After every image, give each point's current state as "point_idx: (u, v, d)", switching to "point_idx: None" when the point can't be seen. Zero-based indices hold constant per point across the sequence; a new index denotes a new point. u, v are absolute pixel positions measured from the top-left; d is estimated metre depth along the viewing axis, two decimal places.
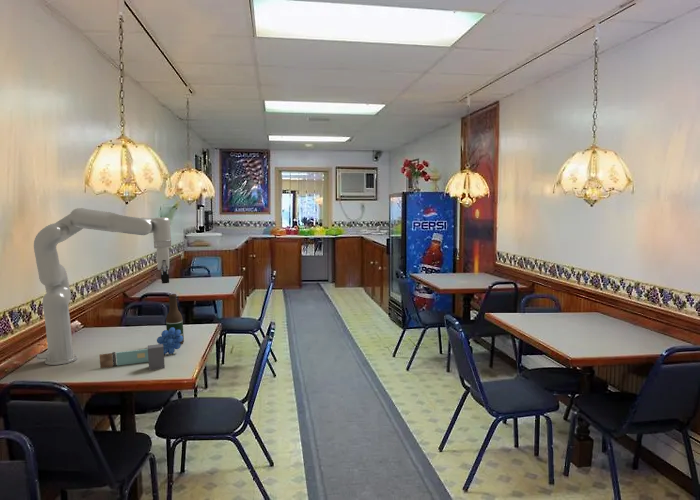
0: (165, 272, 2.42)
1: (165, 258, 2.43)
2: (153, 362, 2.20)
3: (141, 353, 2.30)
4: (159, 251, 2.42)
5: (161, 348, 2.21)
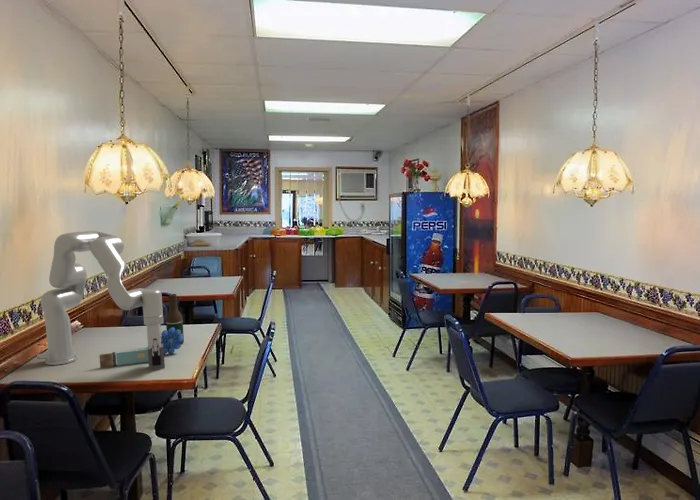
0: (156, 354, 2.18)
1: (156, 336, 2.18)
2: None
3: (141, 353, 2.30)
4: (149, 329, 2.17)
5: (161, 348, 2.21)
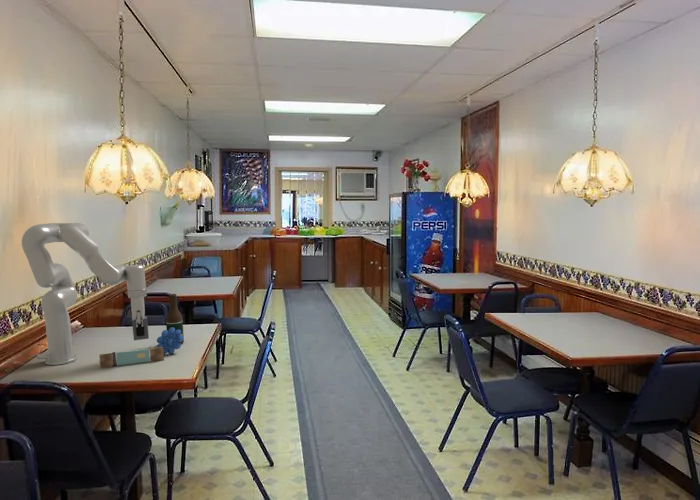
0: (140, 325, 2.32)
1: (139, 308, 2.31)
2: None
3: (141, 353, 2.30)
4: (133, 301, 2.31)
5: (145, 319, 2.35)
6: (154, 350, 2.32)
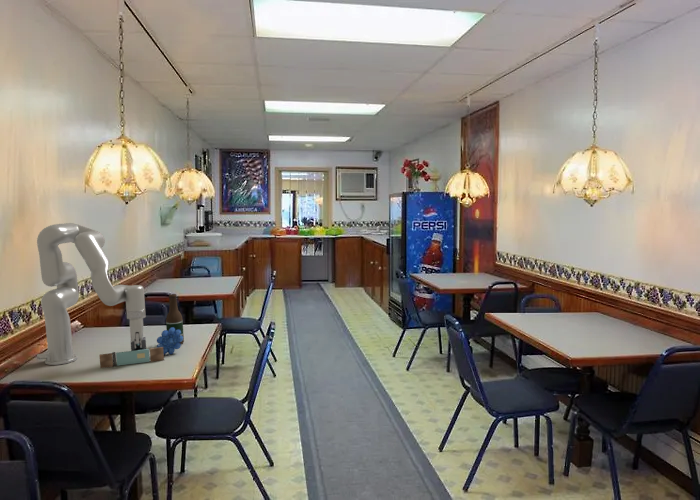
0: (138, 346, 2.30)
1: (138, 330, 2.29)
2: None
3: (141, 353, 2.30)
4: (132, 322, 2.29)
5: (143, 341, 2.33)
6: (154, 350, 2.32)
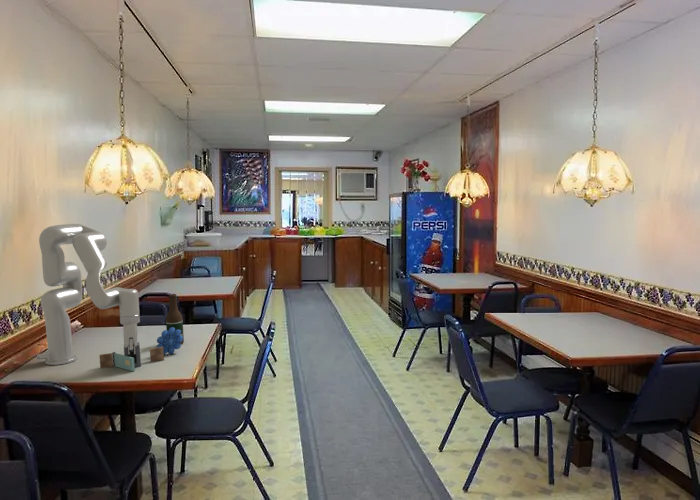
0: (132, 352, 2.22)
1: (132, 335, 2.21)
2: None
3: (127, 360, 2.20)
4: (125, 328, 2.20)
5: (137, 346, 2.24)
6: (154, 350, 2.32)
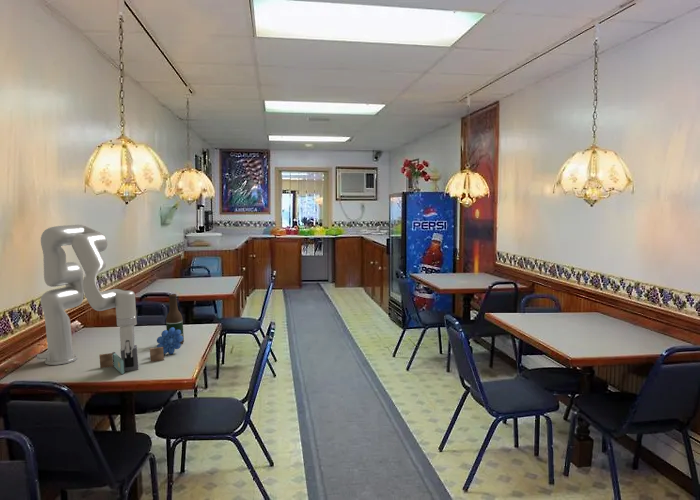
0: (129, 355, 2.17)
1: (129, 338, 2.17)
2: None
3: (119, 362, 2.18)
4: (122, 330, 2.16)
5: (134, 349, 2.20)
6: (154, 350, 2.32)
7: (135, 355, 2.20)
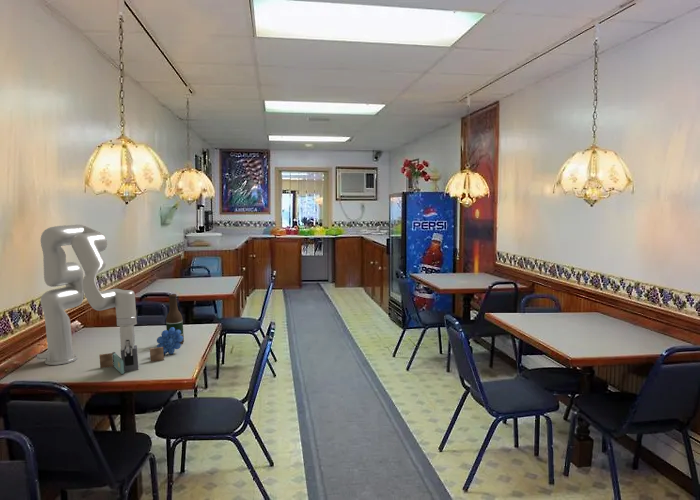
0: (129, 354, 2.15)
1: (129, 337, 2.16)
2: None
3: (119, 362, 2.18)
4: (122, 330, 2.15)
5: (134, 350, 2.20)
6: (154, 350, 2.32)
7: (135, 355, 2.20)
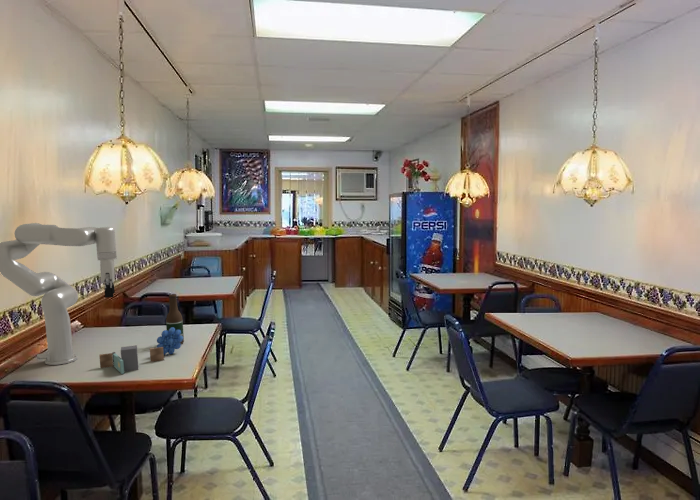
0: (108, 286, 2.27)
1: (108, 271, 2.28)
2: (126, 363, 2.19)
3: (119, 362, 2.18)
4: (102, 263, 2.28)
5: (134, 350, 2.20)
6: (154, 350, 2.32)
7: (135, 355, 2.20)
